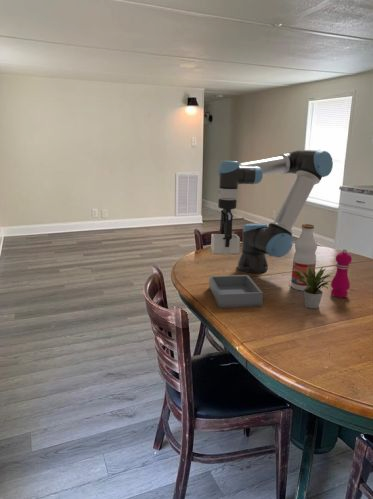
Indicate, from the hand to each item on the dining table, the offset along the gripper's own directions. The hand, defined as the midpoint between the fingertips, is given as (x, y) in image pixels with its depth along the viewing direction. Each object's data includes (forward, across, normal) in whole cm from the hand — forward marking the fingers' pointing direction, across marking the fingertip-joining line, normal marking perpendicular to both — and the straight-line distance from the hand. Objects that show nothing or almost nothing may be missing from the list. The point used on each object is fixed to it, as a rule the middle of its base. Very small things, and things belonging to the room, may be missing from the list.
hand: (224, 251), depth 162 cm
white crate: (0, 0, 0) cm, 0 cm away
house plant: (+16, +24, +31) cm, 42 cm away
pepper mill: (+15, +13, +47) cm, 51 cm away
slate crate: (+16, +12, +3) cm, 20 cm away
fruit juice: (+15, +3, +35) cm, 38 cm away
